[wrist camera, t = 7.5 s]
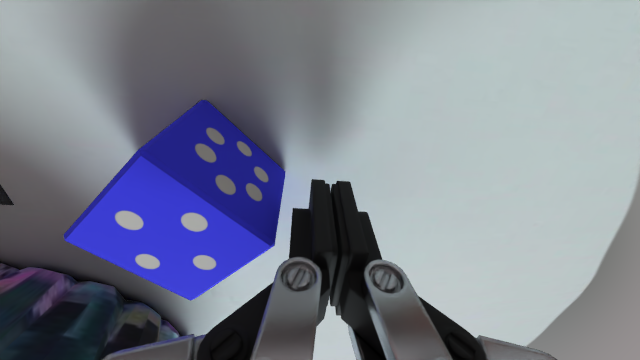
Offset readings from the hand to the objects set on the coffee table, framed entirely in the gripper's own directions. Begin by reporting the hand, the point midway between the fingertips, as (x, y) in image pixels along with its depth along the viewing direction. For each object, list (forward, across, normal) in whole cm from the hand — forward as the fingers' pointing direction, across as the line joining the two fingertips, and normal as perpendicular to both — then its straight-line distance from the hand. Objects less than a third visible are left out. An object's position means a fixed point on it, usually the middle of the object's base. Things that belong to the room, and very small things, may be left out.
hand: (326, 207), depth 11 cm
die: (+3, +5, 0) cm, 6 cm away
